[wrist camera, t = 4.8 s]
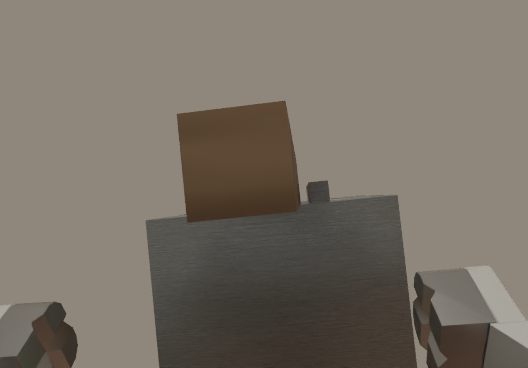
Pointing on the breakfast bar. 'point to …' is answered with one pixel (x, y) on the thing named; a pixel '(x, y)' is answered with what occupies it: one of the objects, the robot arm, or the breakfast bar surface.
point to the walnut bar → (238, 162)
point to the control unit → (284, 287)
